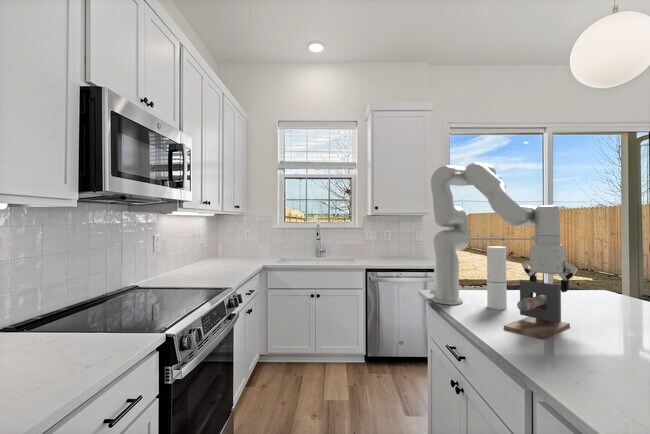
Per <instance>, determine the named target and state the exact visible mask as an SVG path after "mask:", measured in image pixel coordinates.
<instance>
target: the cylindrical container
mask: <svg viewBox="0 0 650 434" xmlns="http://www.w3.org/2000/svg"><path fill="white" fill-rule="evenodd" d="M486 260H487V261H486V279H487V280H486V282H487V283H486V285H487V288H486V293H487V295H486V298H487V299H486V302H487V304H486V307H487V308H489V309H491V310H492V309H493V310H498V311H499V310H501V311H504V310H507V307H508V306H507V305H508V304H507V300H508V299H507V246H500V245H498V246H497V245H495V246H494V245H492V246H491V245H490V246H486Z"/></svg>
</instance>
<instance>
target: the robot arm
mask: <svg viewBox="0 0 650 434" xmlns="http://www.w3.org/2000/svg"><path fill="white" fill-rule="evenodd" d="M450 186H459V187H460V186H461V187H464V186H474V187H473V188H475V189H476V190H478V192H480V193H481V194H482V195H483V196H484V197H485V198H486V199H487V202H488V203H489V205H490V208H491V209H492V210H493V211H494V212H495V214H496V215H498V216H499V217H500V218H501V219H502V220H503V221H504V222H505V223H506V224H509V225H510V226H512V227H513V226H514V227H528V226H529V227H530V226H531V227H532V226H534V236H531V238H530V241H533V242H534V243H532V245H531V249H530V256H529V257H530V258H529V260H527V261H525V262H521V266H522V268H523V270H524V272H525V273H526V274H527V276H528V277H529V281H533V282H538V278H537V273H538V274H548V275H558V276H559V277H560V278H561V280H560V285H561V293H566V292H568V291H569V288H570V286H569V283H570V282H569V280H571V279H572V278H573V277H574V276H575V274H576V273H577V272H578V267H576V266H574V265H573V264H572V263H571V264H570V263H569V262H567V260H566V253H565V248H564V245H563V244H562V242H561V214H560V213H561V212H560V211H561V209H560V207H559V206H558V205H556V204H551V205H550V204H547V205H543V204H541V205H537V206H533V205H521V204H518V203H517V202H516V201H514V200H513V199H512V197H510V196H509V195H508V194H507V192H506V186H507V185H506V183H505V182H504V181H503V180H502V179H501V178H499V177H498V176H497V172H496V169H495V167H494V166H493V165H491V164H489V163H485V162H483V163H482V162H478V161H477V162H472V163H469V164H468V165H466V166H458V165H451V164H449V165H448V164H446V165H441V166H439V167H438V168H436V170H434V172H433V173H432V175H431V178H430V189H431V194H432V195H431V196H432V203H433V204H432V205H433V214H434V215H433V216H434V222H435V224H436V225H437V226H439V227H440V228H441V227H442V228H448V229H444V230H440V231H438V232H437V233H436V234H435V235H434V237H433V247H434V253H435V287H436V288H431V289H430V291H429V294H431V295H434V296H433V297H432V301H433V302H434V303H437V304H439V305H440V304H442V305H451V306H452V305H453V306H455V305H456V306H457V305H461V304H463V303H464V300H463V299H462V298H461V297H460V282H459V281H460V278H459V277H460V271H459V269H460V265H459V263H460V261H459V257H458V254H457V252H458V251H463V250H465V249H467V247H468V245H469V242H470V233H469V232H470V231H469V222H468V216H467V215H468V214H467V213H466V211H465V210H464V209H463V208H462V206H461V207H460V206H459V205H458V206H457V205H454V198H453V193H452V190H451V189H450ZM567 269H569V270H570V271H569V272H568V273H567Z"/></svg>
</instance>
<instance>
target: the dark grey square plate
mask: <svg viewBox="0 0 650 434" xmlns="http://www.w3.org/2000/svg"><path fill="white" fill-rule="evenodd" d="M536 293H538V294H544V295H546V308H541V307H535V308H534V309H532V310H526V311H521V310H519V315H520V316H524V317H533V318H538V319H542V320H547V321H551V322H556V323H560V322H562V292H561V284H555V283H548V282H547V283H546V282H540V281H537V282H533V281H530V280H526V279H525V280H524V279H521V280H519V301H522V300H523V299H525V298H532V297H534V294H536Z"/></svg>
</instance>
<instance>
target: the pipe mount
mask: <svg viewBox="0 0 650 434" xmlns="http://www.w3.org/2000/svg"><path fill="white" fill-rule="evenodd" d="M516 305H517V306H516V307H517V309H518V310H519V311H520V310H521V311H526V310H532V309H534V308H535V307H541V308H546V295H544V294H538V293H535V296H533V297H532V298H525V299H523V300H522V301H520V300H519V301H517V304H516ZM566 328H567V329H570V328H571V324H570V323H569V322H565V321H561V322H560V323H556V322H551V321H547V320H542V319H538V318H533V317H528V316H525V317H524V318H521V319H518V320H515V321H512V322H510V323H507V324H504V325H503V330H506V331H510V332H513V333H517V334H520V335H525V336H527V337H528V336H529V337H531V338H535V339H540V340H545V339H547V338H549V337H551V336H553V335H555V334H556V335H557V334H558V333H560V332H562V331H565V330H566ZM564 329H565V330H564Z"/></svg>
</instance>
